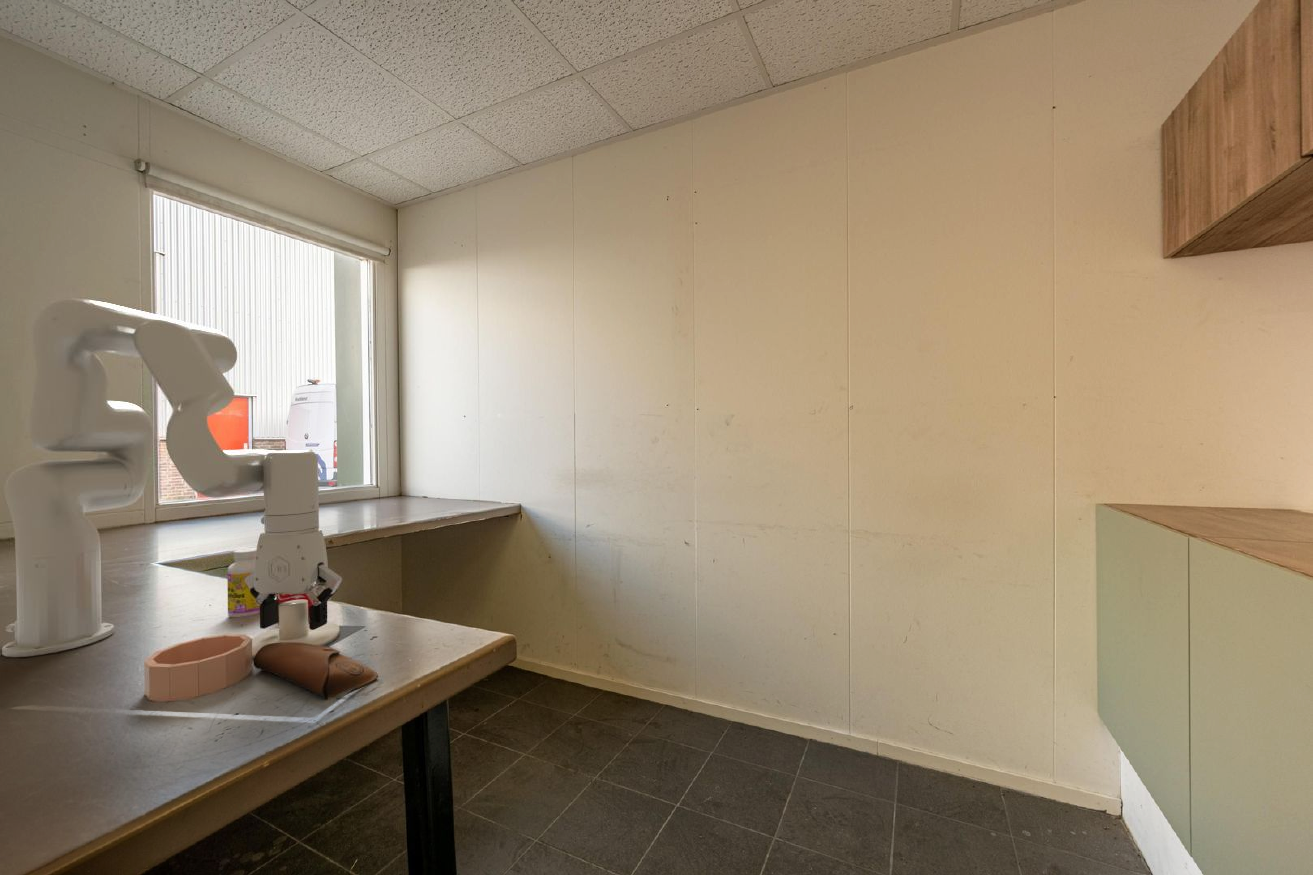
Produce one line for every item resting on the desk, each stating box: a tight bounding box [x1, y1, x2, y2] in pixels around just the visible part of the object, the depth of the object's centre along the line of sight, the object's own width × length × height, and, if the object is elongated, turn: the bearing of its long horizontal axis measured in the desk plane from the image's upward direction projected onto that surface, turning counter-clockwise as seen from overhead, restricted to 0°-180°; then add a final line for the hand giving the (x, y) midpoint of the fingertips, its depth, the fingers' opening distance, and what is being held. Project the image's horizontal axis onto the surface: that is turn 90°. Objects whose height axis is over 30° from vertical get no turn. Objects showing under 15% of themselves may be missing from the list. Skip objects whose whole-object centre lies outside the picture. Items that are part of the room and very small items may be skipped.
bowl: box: [143, 633, 253, 702], centre depth 72 cm, size 11×11×5 cm
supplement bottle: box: [226, 546, 260, 619], centre depth 102 cm, size 7×7×13 cm
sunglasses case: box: [252, 642, 379, 700], centre depth 74 cm, size 18×7×7 cm
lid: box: [252, 599, 340, 658], centre depth 86 cm, size 13×13×6 cm
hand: (294, 625), depth 86 cm, fingers open, 8 cm apart
